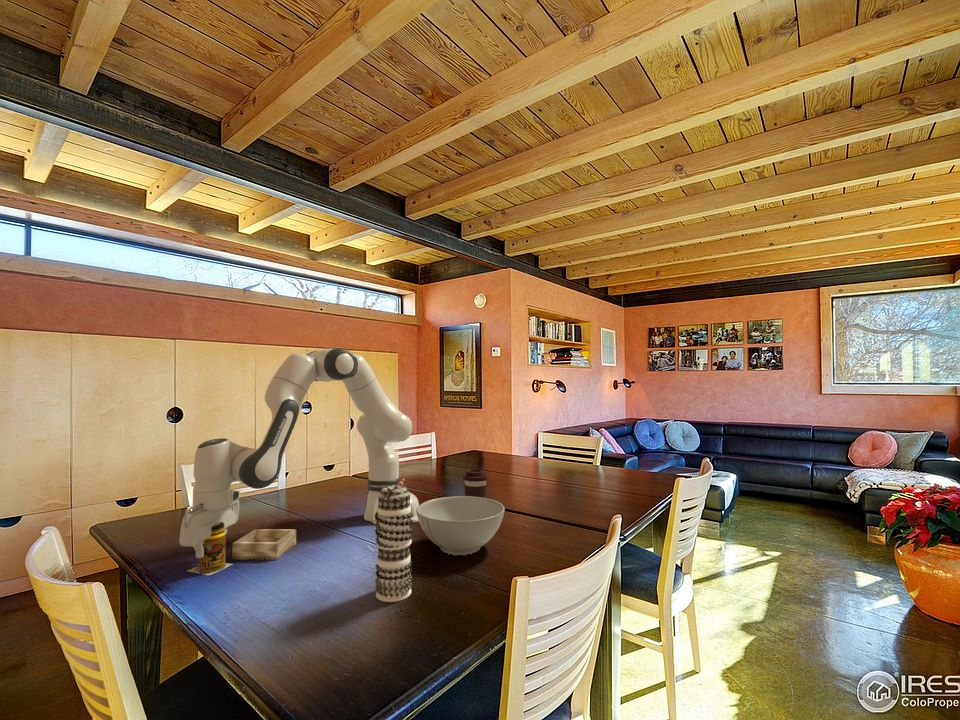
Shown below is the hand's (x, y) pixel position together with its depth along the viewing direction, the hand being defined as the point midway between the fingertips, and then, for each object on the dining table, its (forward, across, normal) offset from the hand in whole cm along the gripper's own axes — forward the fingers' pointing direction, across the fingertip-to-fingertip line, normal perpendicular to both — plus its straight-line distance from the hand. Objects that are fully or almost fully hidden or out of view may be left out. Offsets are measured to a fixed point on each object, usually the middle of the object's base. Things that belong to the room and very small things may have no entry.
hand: (210, 551), depth 120 cm
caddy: (+5, +12, -9) cm, 16 cm away
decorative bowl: (+5, +16, -67) cm, 69 cm away
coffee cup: (+5, +56, -70) cm, 90 cm away
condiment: (+5, 0, 0) cm, 5 cm away
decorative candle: (+5, -13, -53) cm, 55 cm away
